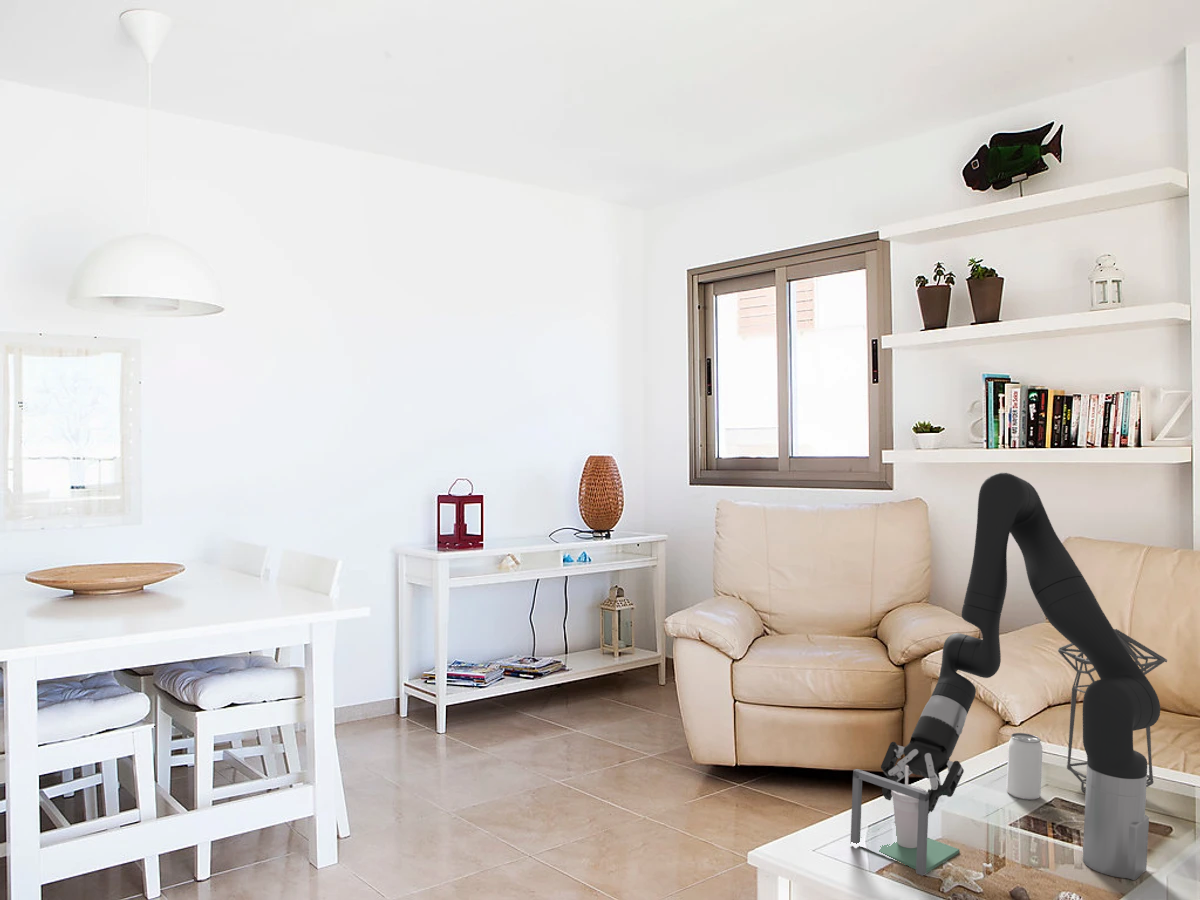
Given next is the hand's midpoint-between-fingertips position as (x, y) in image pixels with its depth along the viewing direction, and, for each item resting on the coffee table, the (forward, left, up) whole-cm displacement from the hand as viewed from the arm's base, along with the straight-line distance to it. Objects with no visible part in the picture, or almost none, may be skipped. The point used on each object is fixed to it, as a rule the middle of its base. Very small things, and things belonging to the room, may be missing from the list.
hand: (905, 804), depth 171 cm
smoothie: (0, -2, -8) cm, 8 cm away
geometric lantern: (-14, -57, -9) cm, 59 cm away
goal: (0, -1, -8) cm, 8 cm away
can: (-3, -43, -9) cm, 44 cm away
